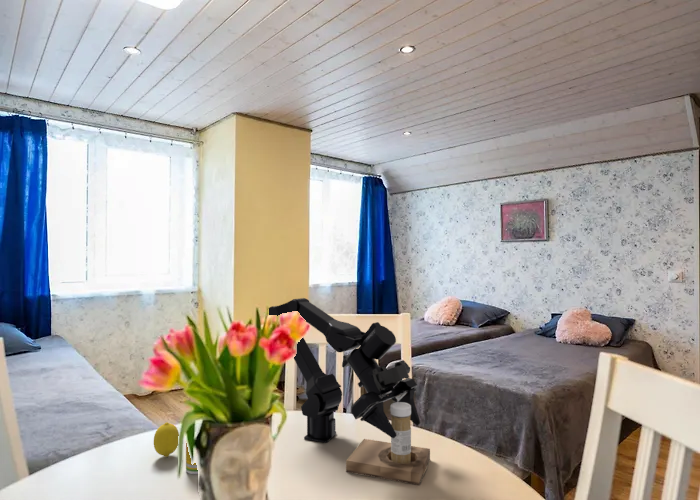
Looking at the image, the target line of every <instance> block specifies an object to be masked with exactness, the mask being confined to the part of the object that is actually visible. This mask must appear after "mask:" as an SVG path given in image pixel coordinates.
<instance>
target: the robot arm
mask: <svg viewBox="0 0 700 500" xmlns="http://www.w3.org/2000/svg"><path fill="white" fill-rule="evenodd" d="M268 309H269V315H277V316H278V315H280V314H282V313H287V312H292V311H298V312H299V313H300V315H301V316H302V317H303V318H304V319H305V320H306V321H305V320H304V321H305V322H306V323H307V324H309V325H310V326H311V327H312V328H314V329H316V331H318V332H319V333H321V334H322V335H323V336H324V337H325V340H326V343H327V344H328V345H329V346H330V347H331V348H332V349H333V350H334V351H336V352H338V353H344V352H348V351H351V352H350V353H349V354H345V355H343V357H342V358H343V359H342V364H341V368H347V367H351V370H352V371H353V372H354V373H355V375H356V377H357V379H358V380H359V382H358V383H357V385H358V387H359V388H362V387H363V388H364V389H365V392H366V393H364V394H362V395H360V396H359V397H358V399H357V400H356V401H355V402H354V403H353V404H352V405H350V412H351V415H352V416H353V417H354V419H355V420H358V419H360V421H361V422H366V423H368V424H369V425H372V426H373V427H374V428H377V430H379V431H381V432H383V433H384V434H385V435H387V436H389V437H390V438H391V437H392V438H395V437H396V436H397V435H396V433H395V430H394V428H393V427H392V425H391V421H390V420H389V418H388V416H387V415H386V413H385V410H384V403H385V402H387V401H390V400H392V401H393V402H394V403H395V402H405V403H408V404H410V405H411V416H410V422H411V423H413V424H414V425H416V426H419V425H420V424H421V420H420V417H419V413H418V411H417V407H416V403H415V400H414V399H415V398H414V397H415V393H416V392H417V387H418V384H417V382H416V381H415V380H414V378H410V375H409V374H410V373H411V372H410V371H411V367H410V366H409V364H407V362H406V361H405V360H404V359H402V360H400V361H396V362H395V363H394V367H391V368H387V367H386V366H385V365H382V366H380V365H379V363H378V362H377V360H381V359H382V358H383V357H385V355H386V354H387V353H388V352H389V351H390V350H391V349H392V347H393V346H394V345H395V344H396V343H397V339H396V338H397V337H396V336H395V334H394V331H392V330H390V329H389V328H388V327H386V326H383V325H381V323H380V322H373V323H371V325H370V326H369V327H368V329H367V330H366V331H362V330H361V328H359V327H358V326H356V325H354V324H351V323H349V322H345V321H341V320H338V319H335V318H334V317H332V316H331V315H329V314H328V313H326V312H325V311H324V310H322V309H320V308H319V307H317V306H316V305H315V304H313V303H312V302H311V301H310V300H309V299H307V298H304V297H301V298H293V299H292V300H289V301H287V302H285V303H283V304H280V305H275V306H274V305H273V306H270V307H268ZM293 359H294V361H295V364H296V365H297V367H298V370H300V373H301V375H302V377H303V379H304V381H306V384H305V385H306V386H305V387H306V388H305V394H306V397H307V399H306V400H305V401H304V402H303V404H302V405H301V407H300V408H301V413H302V415H303V416H305V417H306V434H305V436H304V437H303V438H304V440H308V441H314V442H319V443H328V442H329V441H330V440H332V439H333V438H334V436H335V435H336V434H337V431H336V418H335V417H334V415H335V414H334V412H335V411H338V410H339V407H340V404H341V403H342V398H343V397H342V396H343V392H342V389H341V387H342V385H341V384H339V382H338V380H337V378H336V376H335V375H334V373H329V374H326V373H325V372H324V371H323V370H322V368H321V366H320V364H319V363H318V361H317V359H316V357H315V356H314V354H313V352H312V350H311V348H310V347H309V345H308V343H307V342H306V340H305V338H304V337H303V338H302V339H301V340H300V342H298V344H297V354H296V356H295V357H294V358H293Z"/></svg>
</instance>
